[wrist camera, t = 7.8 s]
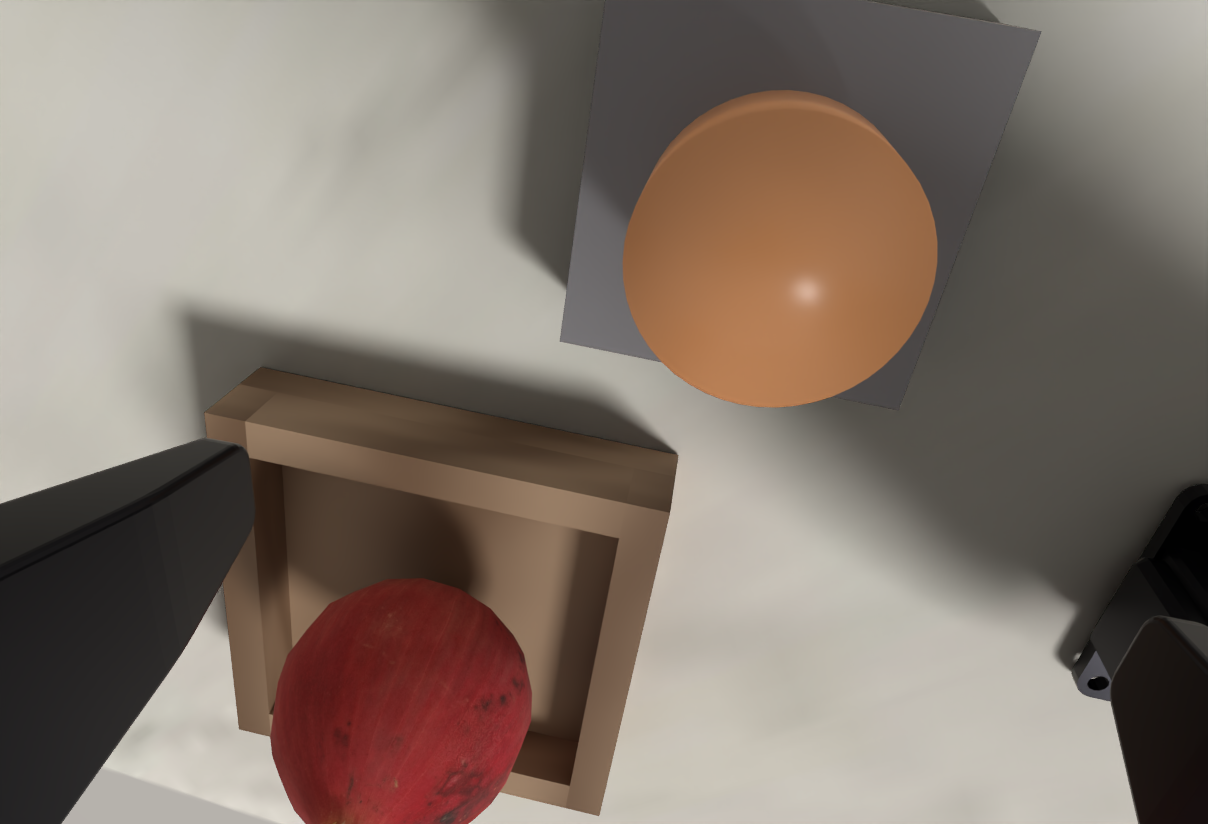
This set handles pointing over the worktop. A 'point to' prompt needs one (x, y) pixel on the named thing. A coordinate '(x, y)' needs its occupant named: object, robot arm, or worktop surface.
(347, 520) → the tray
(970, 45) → the button housing
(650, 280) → the button
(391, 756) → the onion
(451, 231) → the worktop surface
